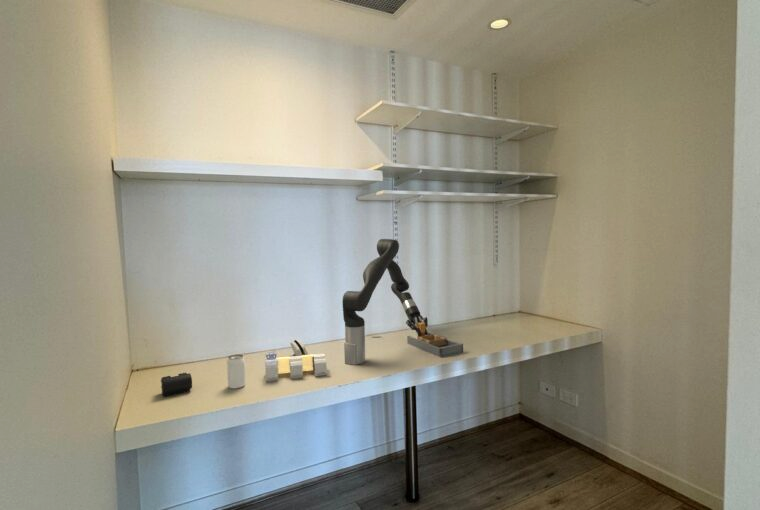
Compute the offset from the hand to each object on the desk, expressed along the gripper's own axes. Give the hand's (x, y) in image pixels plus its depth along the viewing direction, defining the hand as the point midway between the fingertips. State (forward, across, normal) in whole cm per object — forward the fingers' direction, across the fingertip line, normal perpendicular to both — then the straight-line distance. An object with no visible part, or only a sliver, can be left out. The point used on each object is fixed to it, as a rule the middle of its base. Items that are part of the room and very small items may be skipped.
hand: (423, 334), depth 212 cm
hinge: (-4, -65, +12) cm, 66 cm away
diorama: (+12, -74, -4) cm, 75 cm away
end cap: (+8, -119, -1) cm, 120 cm away
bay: (+10, 0, -3) cm, 11 cm away
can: (+12, -98, -4) cm, 99 cm away
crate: (+6, 0, -1) cm, 6 cm away
